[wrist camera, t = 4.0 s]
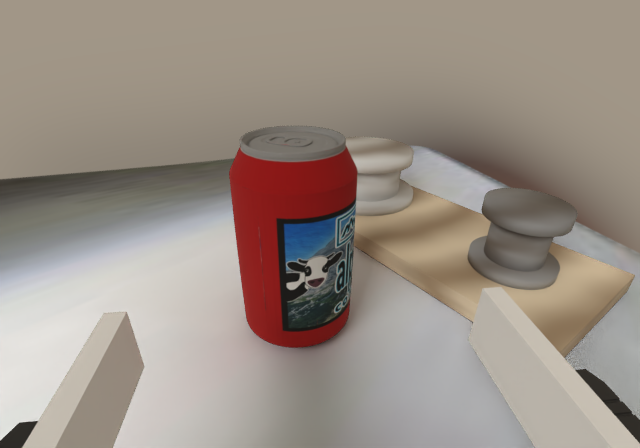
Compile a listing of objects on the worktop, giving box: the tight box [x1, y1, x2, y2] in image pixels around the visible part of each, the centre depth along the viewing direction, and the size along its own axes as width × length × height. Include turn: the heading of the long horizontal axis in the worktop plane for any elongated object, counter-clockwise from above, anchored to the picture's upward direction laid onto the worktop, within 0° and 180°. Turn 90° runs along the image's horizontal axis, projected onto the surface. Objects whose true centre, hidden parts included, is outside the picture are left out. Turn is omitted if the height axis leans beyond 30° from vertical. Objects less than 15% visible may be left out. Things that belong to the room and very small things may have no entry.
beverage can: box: [229, 126, 358, 348], centre depth 21 cm, size 7×7×12 cm
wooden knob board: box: [346, 137, 635, 358], centre depth 32 cm, size 28×12×6 cm, turn 36°
